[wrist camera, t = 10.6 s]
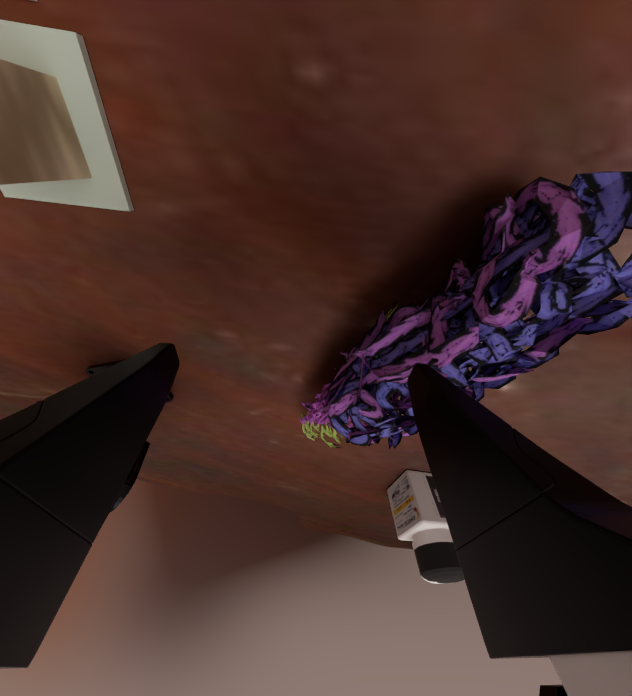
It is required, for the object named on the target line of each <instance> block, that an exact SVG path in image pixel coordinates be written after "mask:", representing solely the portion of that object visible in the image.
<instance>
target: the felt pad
mask: <svg viewBox="0 0 632 696" xmlns="http://www.w3.org/2000/svg"><path fill="white" fill-rule="evenodd" d="M0 59H2V60H5V61H8V62H11V63H14V64H17V65H20V66H23V67H26V68H29V69H32V70H35V71H38V72H41V73H44V74H47V75H50V76H53V77H56V78H57V81H58V83H59V86H60V89H61V92H62V95H63V97H64V100H65V103H66V106H67V109H68V111H69V114H70V117H71V120H72V123H73V125H74V128H75V131H76V134H77V137H78V139H79V142H80V145H81V148H82V151H83V153H84V156H85V159H86V162H87V165H88V167H89V170H90V173H91V176H92V178H87V179H73V180H59V181H46V182H32V183H18V184H4V185H0V189H1V191H2V193H3V195H4V196H5V197H11V198H20V199H28V200H37V201H45V202H53V203H62V204H70V205H79V206H87V207H96V208H104V209H113V210H121V211H129V212H130V211H134V209H133V205H132V202H131V198H130V195H129V192H128V188H127V185H126V181H125V178H124V175H123V171H122V168H121V164H120V161H119V158H118V154H117V151H116V147H115V144H114V141H113V137H112V134H111V130H110V127H109V124H108V120H107V117H106V114H105V110H104V107H103V103H102V100H101V97H100V93H99V90H98V86H97V83H96V80H95V76H94V73H93V69H92V66H91V63H90V59H89V56H88V52H87V49H86V46H85V42H84V39H83V36H81V35H79V34H77V33H76V32H70V31H64V30H58V29H53V28H47V27H41V26H35V25H29V24H23V23H17V22H11V21H6V20H0Z"/></svg>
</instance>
